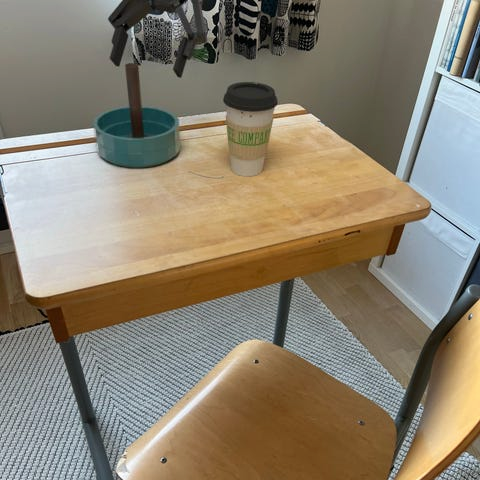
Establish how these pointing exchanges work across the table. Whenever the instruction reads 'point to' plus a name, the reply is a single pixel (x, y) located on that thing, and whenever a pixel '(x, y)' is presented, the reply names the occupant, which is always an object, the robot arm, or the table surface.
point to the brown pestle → (134, 101)
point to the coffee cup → (249, 125)
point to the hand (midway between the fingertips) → (145, 68)
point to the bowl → (137, 149)
